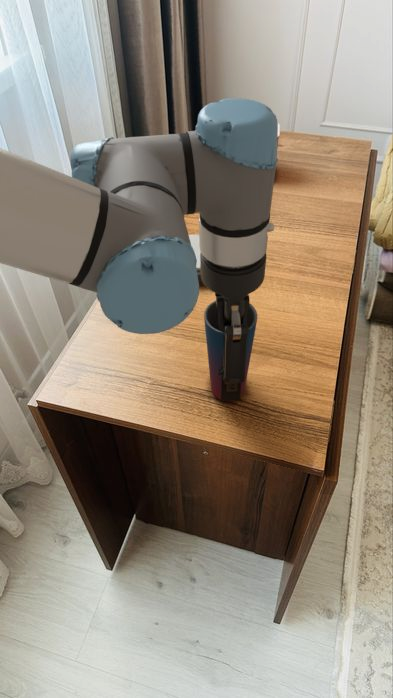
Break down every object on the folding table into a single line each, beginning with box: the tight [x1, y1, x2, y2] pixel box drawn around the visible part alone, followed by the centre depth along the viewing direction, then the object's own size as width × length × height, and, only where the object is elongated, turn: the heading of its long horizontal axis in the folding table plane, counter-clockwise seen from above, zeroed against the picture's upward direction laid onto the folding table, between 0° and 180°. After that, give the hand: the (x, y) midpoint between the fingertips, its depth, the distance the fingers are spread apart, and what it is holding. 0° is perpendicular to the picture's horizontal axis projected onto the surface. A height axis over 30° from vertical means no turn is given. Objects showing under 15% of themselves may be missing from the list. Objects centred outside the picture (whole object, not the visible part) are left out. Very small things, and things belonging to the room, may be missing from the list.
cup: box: [203, 300, 258, 402], centre depth 69 cm, size 7×7×15 cm
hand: (228, 380), depth 73 cm, fingers closed on cup, 6 cm apart
